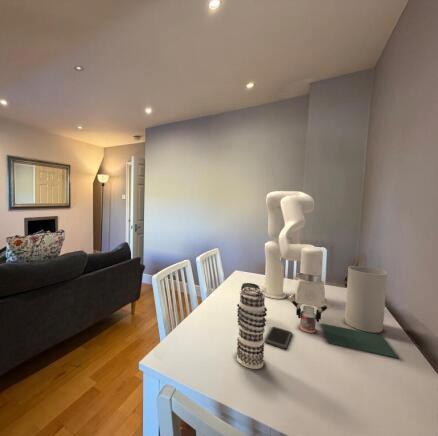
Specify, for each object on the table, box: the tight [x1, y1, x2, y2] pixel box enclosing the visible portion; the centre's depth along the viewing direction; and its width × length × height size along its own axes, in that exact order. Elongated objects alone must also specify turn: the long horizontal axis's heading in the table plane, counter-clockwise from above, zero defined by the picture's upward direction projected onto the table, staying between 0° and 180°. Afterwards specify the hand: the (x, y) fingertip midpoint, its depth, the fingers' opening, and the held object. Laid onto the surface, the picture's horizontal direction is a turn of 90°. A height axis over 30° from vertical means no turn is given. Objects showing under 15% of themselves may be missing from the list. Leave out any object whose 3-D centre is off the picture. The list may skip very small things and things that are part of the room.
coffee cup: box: [240, 282, 260, 291], centre depth 115 cm, size 8×8×15 cm
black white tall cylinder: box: [236, 287, 268, 370], centre depth 83 cm, size 9×9×25 cm
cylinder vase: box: [344, 265, 388, 334], centre depth 106 cm, size 12×12×25 cm
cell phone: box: [264, 326, 293, 350], centre depth 98 cm, size 7×14×1 cm, turn 141°
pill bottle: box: [299, 305, 317, 333], centre depth 104 cm, size 5×5×10 cm
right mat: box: [320, 323, 400, 360], centre depth 97 cm, size 20×16×1 cm
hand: (308, 318), depth 104 cm, fingers open, 5 cm apart
